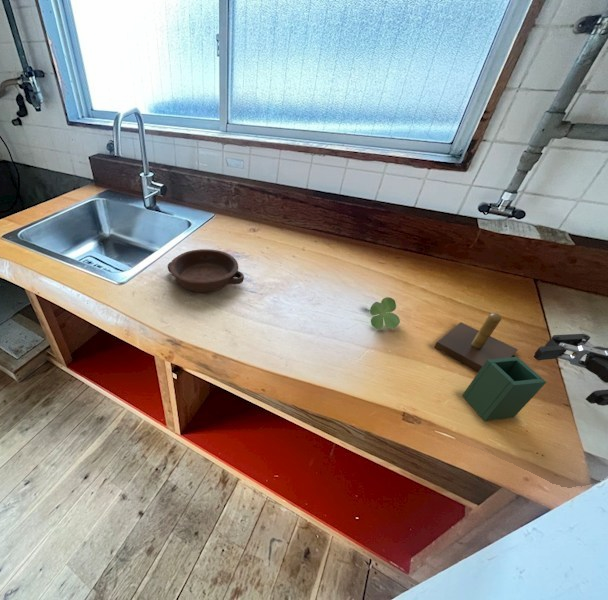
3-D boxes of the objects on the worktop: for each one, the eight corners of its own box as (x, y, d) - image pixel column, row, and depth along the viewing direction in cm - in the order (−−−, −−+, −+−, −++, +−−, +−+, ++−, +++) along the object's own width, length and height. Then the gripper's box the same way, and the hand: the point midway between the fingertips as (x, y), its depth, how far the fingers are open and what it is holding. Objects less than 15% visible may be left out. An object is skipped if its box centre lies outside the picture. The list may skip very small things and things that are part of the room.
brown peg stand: (514, 354, 62) (542, 317, 57) (491, 378, 58) (519, 341, 52) (457, 327, 69) (478, 291, 63) (433, 347, 65) (453, 310, 59)
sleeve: (489, 392, 56) (517, 356, 50) (513, 418, 52) (547, 381, 46) (461, 395, 55) (486, 359, 50) (484, 421, 51) (514, 385, 46)
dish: (233, 305, 78) (234, 289, 75) (153, 290, 84) (150, 274, 81) (251, 269, 91) (252, 254, 88) (180, 258, 97) (179, 243, 94)
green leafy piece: (370, 333, 75) (389, 338, 69) (345, 313, 74) (363, 317, 68) (387, 308, 76) (408, 311, 69) (363, 288, 74) (382, 289, 68)
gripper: (625, 318, 54) (535, 326, 53) (746, 386, 43) (633, 398, 42) (594, 349, 59) (511, 357, 58) (696, 418, 47) (594, 430, 46)
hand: (562, 374), depth 50 cm, fingers open, 8 cm apart
